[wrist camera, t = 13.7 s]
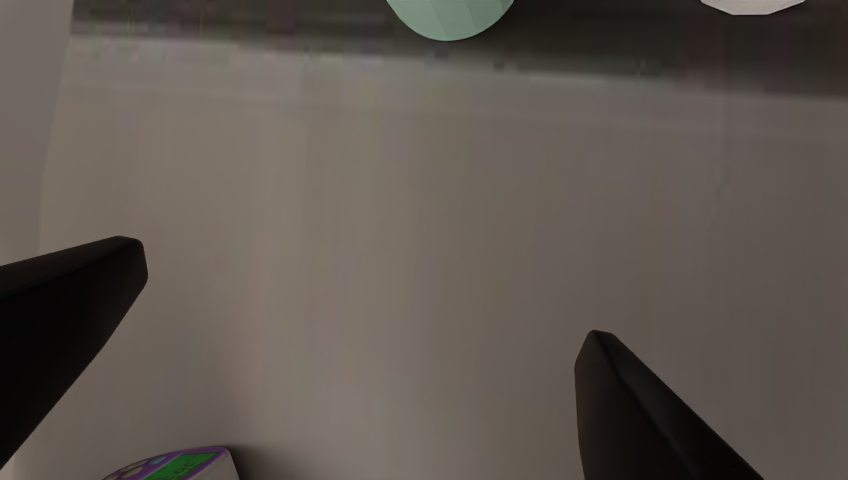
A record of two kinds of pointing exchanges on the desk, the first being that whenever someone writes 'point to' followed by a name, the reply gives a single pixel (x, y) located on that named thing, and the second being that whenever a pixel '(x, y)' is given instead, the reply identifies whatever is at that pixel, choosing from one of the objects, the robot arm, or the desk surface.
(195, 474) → the infrared thermometer
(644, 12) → the desk surface
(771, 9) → the shot glass
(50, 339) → the robot arm
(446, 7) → the water bottle
